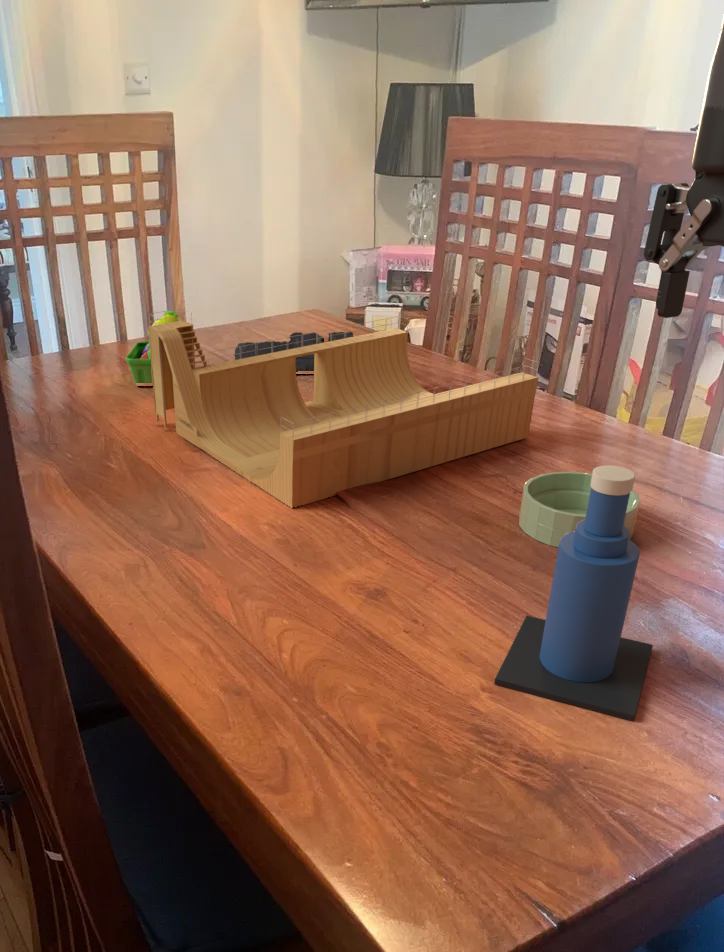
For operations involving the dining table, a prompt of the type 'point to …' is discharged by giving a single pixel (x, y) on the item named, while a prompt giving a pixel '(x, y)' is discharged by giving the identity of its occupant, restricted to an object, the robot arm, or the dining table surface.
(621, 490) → the bottle
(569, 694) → the mat
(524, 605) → the dining table surface
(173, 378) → the skate ramp
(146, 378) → the fruit basket
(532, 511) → the bowl
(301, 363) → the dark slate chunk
